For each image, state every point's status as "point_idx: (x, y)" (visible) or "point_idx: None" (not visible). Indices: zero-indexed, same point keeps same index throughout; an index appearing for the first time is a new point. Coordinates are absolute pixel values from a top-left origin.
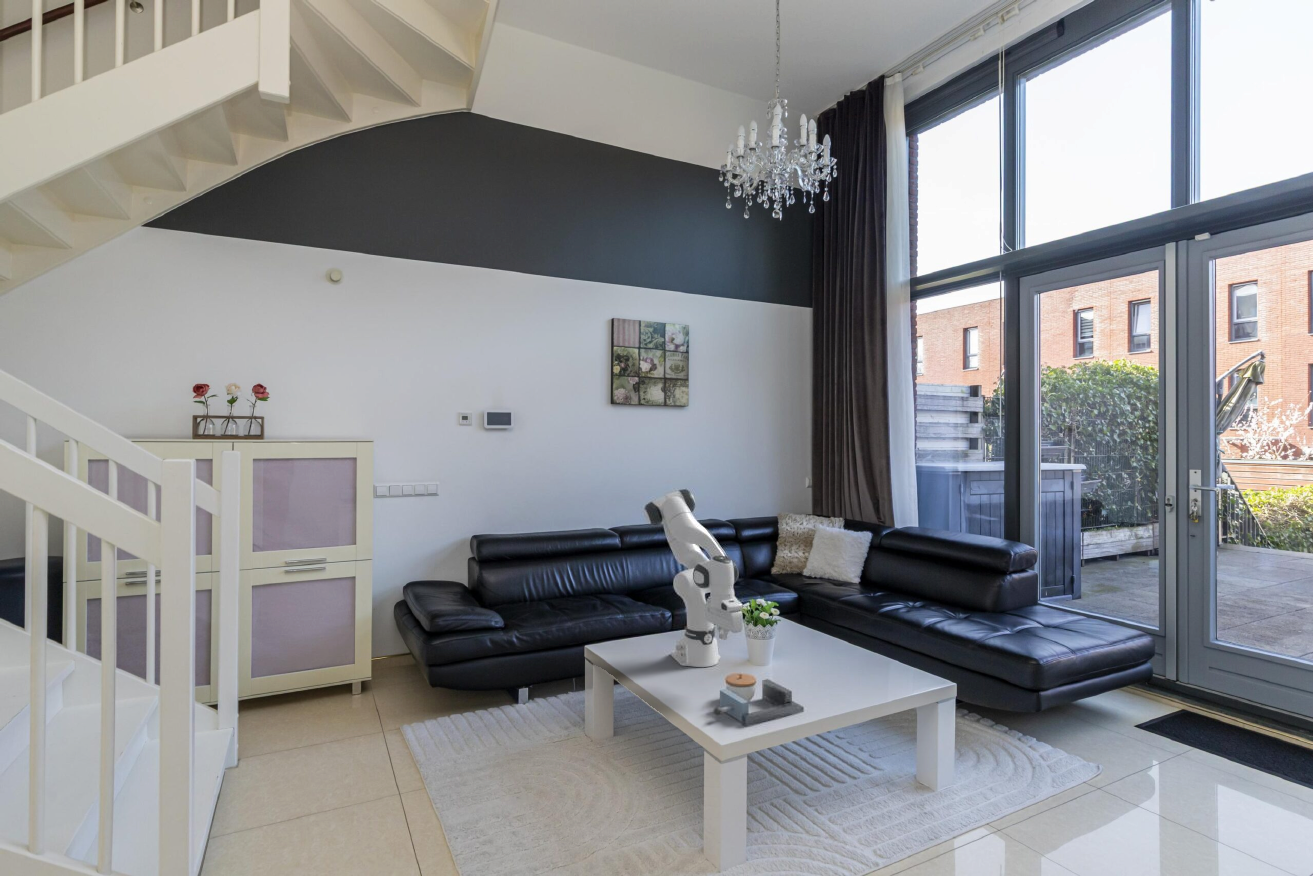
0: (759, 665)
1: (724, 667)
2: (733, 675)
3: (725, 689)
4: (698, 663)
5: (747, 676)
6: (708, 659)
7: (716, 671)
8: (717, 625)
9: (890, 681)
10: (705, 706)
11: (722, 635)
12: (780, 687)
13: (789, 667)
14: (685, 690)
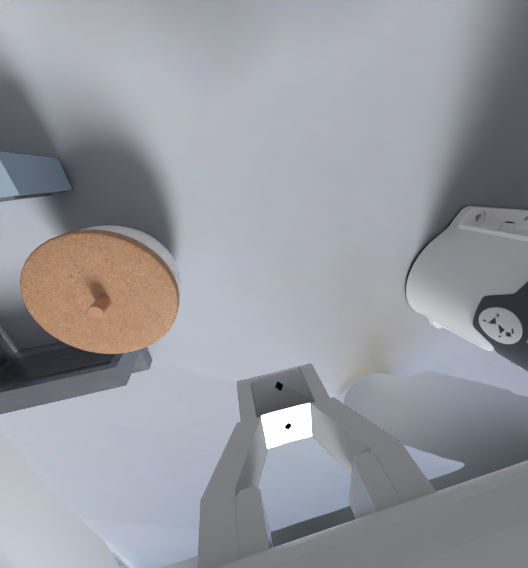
0: (345, 384)
1: (380, 314)
2: (146, 285)
3: (6, 187)
4: (433, 254)
5: (120, 333)
6: (426, 287)
7: (370, 285)
8: (382, 527)
9: (173, 529)
10: (100, 110)
11: (250, 414)
12: (26, 399)
13: None
14: (285, 111)
